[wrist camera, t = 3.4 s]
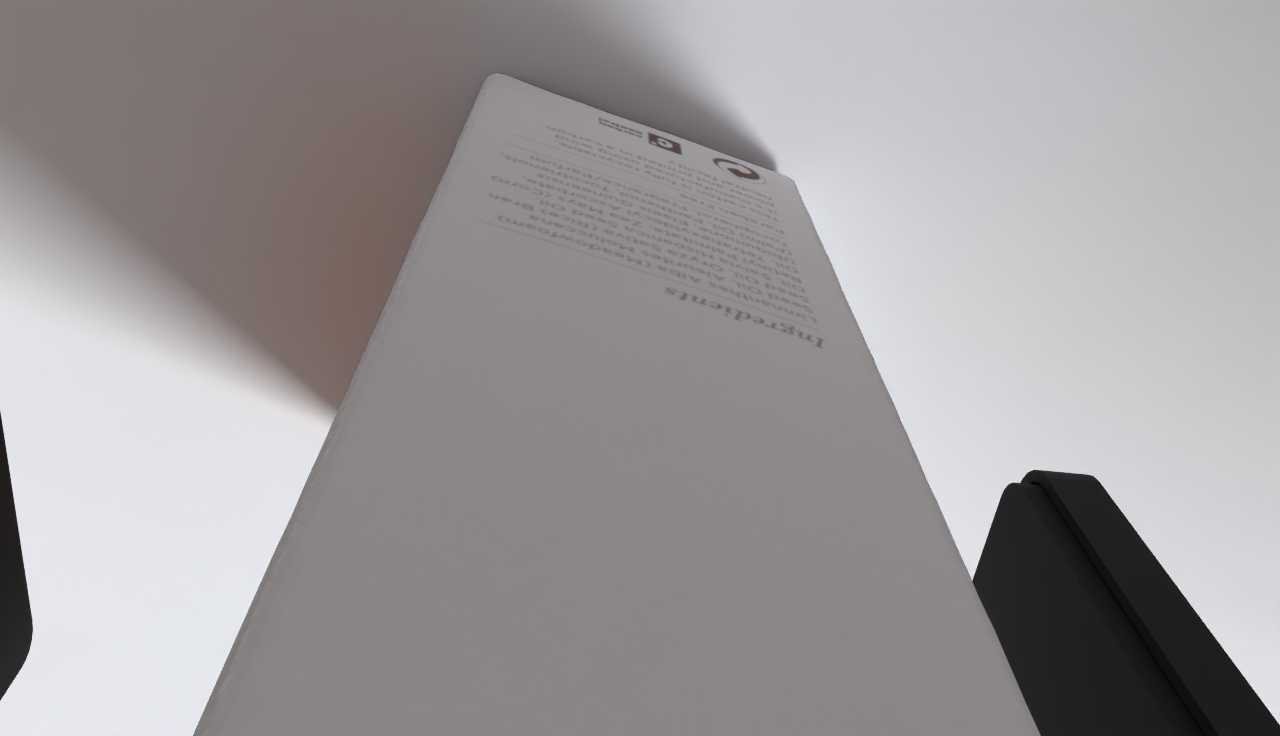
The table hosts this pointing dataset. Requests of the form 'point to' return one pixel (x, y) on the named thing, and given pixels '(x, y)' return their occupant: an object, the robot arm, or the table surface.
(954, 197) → the table surface
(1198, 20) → the table surface
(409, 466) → the skincare box
